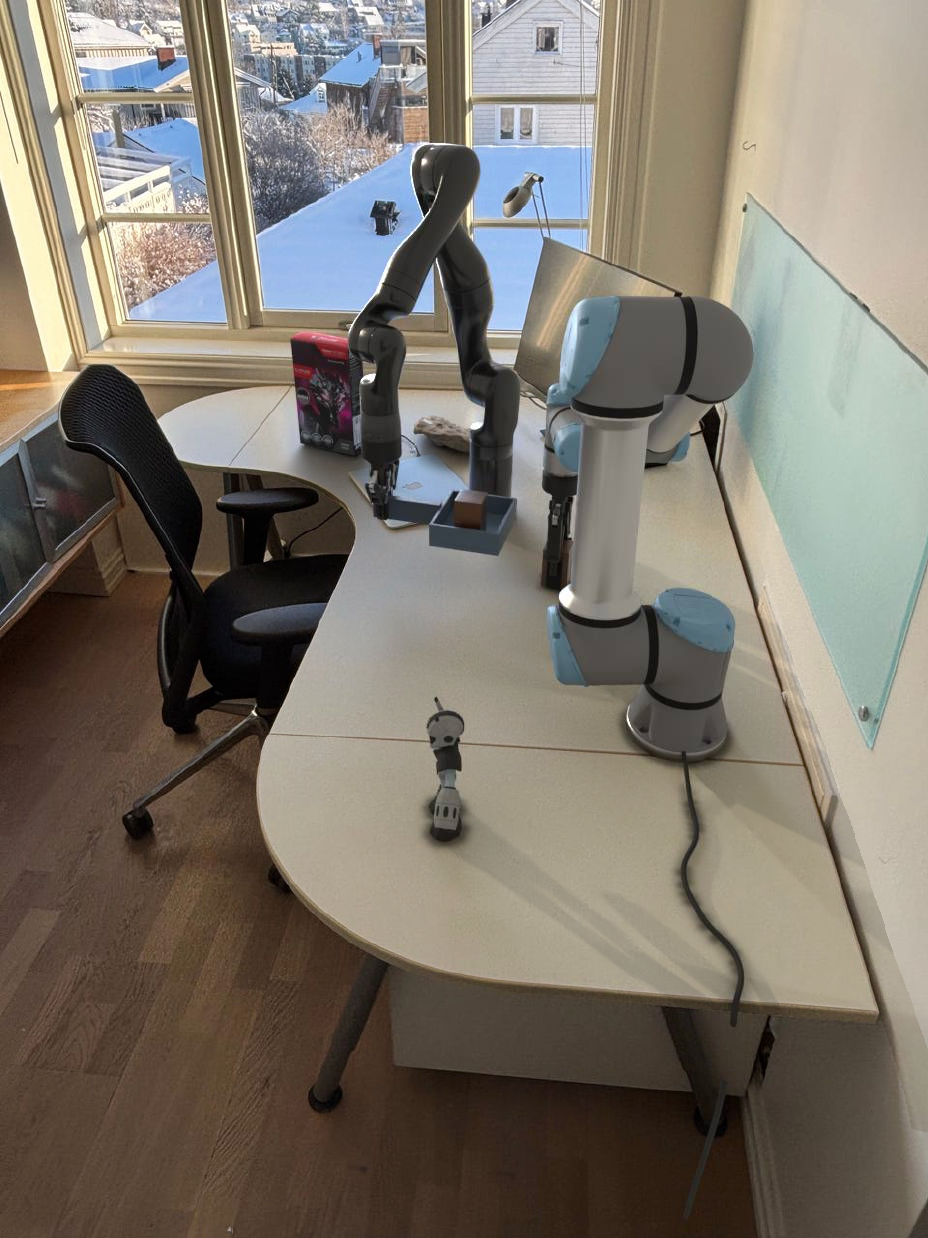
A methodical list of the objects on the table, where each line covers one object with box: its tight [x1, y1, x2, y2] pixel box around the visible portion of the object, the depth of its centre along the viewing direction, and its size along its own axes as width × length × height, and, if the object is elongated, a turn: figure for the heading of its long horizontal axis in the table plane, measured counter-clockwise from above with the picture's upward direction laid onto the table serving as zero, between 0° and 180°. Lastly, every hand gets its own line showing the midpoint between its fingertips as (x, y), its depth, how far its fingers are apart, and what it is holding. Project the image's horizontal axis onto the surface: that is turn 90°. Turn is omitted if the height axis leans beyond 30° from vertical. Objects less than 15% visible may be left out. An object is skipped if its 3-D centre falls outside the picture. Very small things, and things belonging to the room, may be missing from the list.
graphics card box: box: [289, 330, 365, 456], centre depth 225 cm, size 17×7×27 cm, turn 62°
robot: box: [425, 696, 465, 842], centre depth 121 cm, size 20×5×20 cm, turn 3°
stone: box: [412, 415, 470, 453], centre depth 232 cm, size 21×15×6 cm
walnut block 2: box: [540, 540, 574, 590], centre depth 177 cm, size 5×5×8 cm
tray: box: [372, 489, 518, 557], centre depth 176 cm, size 15×27×5 cm, turn 75°
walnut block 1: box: [454, 488, 487, 531], centre depth 171 cm, size 5×5×8 cm
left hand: (384, 516), depth 179 cm, fingers closed on tray, 1 cm apart
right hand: (555, 579), depth 179 cm, fingers closed on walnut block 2, 5 cm apart
